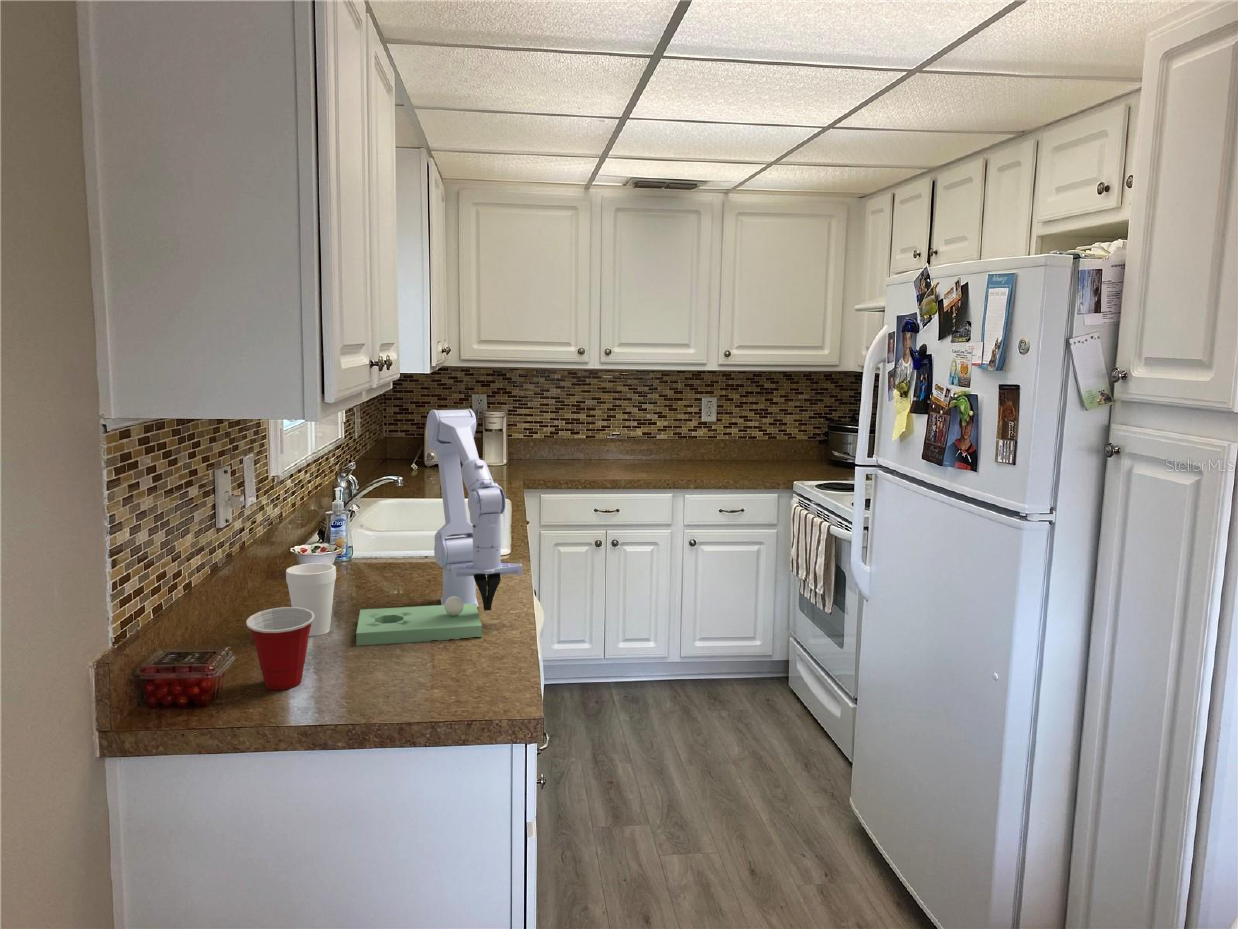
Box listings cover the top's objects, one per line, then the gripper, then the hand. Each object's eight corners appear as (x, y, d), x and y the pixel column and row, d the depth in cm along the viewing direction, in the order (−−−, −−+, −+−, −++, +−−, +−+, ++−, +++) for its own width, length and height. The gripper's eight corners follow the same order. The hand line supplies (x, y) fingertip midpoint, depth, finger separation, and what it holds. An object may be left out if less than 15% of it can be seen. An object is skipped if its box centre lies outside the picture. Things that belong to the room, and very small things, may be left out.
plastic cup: (244, 699, 141) (241, 628, 140) (253, 676, 152) (250, 609, 150) (314, 693, 144) (312, 623, 143) (319, 670, 154) (316, 605, 153)
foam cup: (321, 621, 183) (319, 560, 181) (346, 630, 177) (345, 568, 175) (279, 632, 175) (276, 569, 174) (304, 641, 170) (302, 577, 168)
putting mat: (360, 621, 183) (360, 609, 183) (475, 614, 189) (475, 603, 188) (356, 645, 168) (356, 633, 167) (481, 637, 173) (481, 625, 173)
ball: (443, 613, 181) (443, 594, 181) (463, 612, 182) (463, 593, 182) (444, 618, 177) (444, 599, 177) (464, 617, 178) (464, 598, 178)
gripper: (452, 551, 174) (452, 616, 176) (524, 548, 177) (524, 612, 179) (450, 543, 181) (451, 607, 182) (519, 540, 184) (520, 603, 186)
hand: (487, 609), depth 181 cm, fingers closed
